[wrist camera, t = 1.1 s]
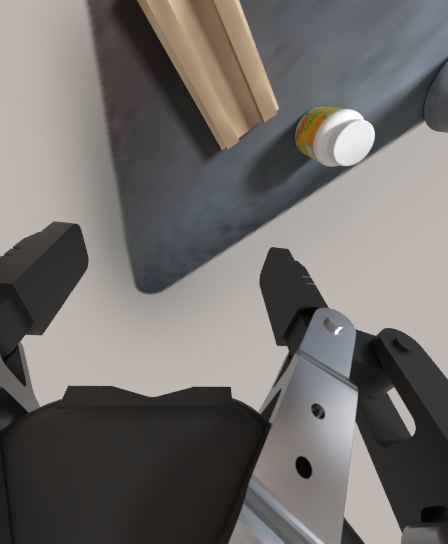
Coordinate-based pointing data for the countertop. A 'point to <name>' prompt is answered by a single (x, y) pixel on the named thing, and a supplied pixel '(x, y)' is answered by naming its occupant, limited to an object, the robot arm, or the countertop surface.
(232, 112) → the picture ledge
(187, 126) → the countertop surface
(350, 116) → the supplement bottle
